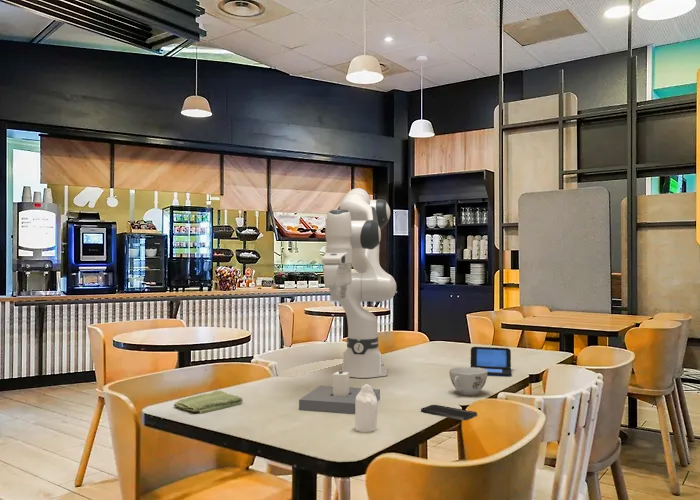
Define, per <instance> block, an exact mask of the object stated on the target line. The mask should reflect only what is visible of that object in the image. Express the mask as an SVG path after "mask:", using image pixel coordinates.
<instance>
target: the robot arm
mask: <svg viewBox="0 0 700 500" xmlns="http://www.w3.org/2000/svg"><path fill="white" fill-rule="evenodd" d="M390 217H391V208H390V206H389V203H388V201H386V200H385V199H380V198H377V199H371V198H370V195H369V193H368V192H367V191H366V189H363V188H360V187H356V188H352V189H350V190H349V191H348V192H347V193H346V194H345V196H344V197H343V198H342V200H341V202H340V205H339V206H338V207H337V209H331V210H330V211H328V212H327V213H326V220H325V221H326V222H325V229H324V237H325V238H324V240H325V242H326V245H325V253H324V255H323V256H322V258H321V263H322V265H323V281H324V282H323V284H324V286H325V288H328V290H329V294H330V297H331V298H330V299H331V302H338V303H339V304H340V306H341V307H342V308H343V309H342V310H344V312H345V315H346V320H347V337H346V347H347V348H346V350H344V352H342V368H341V369H339V370H338V372H340V371H343V372H349V378H357V379H358V378H363V379H369V378H370V379H371V378H377V377H386V376H388V367H387V366H385V365H384V362H383V359H382V358H383V356H382V352H381V351H380V349H379V337H378V319H377V316H376V315H375V314H374V313H373V312H371V311H369V310H367V309H365V308H363V306H362V304H361V302H362V303H363V302H379V303H380V302H384V301H385V302H386V301H389V300H392V299H393V298H394V296H395V295H396V293H397V282H396V280H395V278H394V277H393V275H391V274H389V273H388V272H386V271H385V270H384V269H383V268H382V267H381V265H380V242H381V240H382V239H381V238H382V232H381V231H382V230H384V227H385V226H386V225H387V224H388V222H389V221H390ZM352 268H353V269H354V270H355V271H356V272H352Z"/></svg>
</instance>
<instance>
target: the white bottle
mask: <svg viewBox="0 0 700 500" xmlns="http://www.w3.org/2000/svg"><path fill="white" fill-rule="evenodd" d="M360 388H361V390H360V392H359V393H358V395H357V396H356V399H355V400H356V401H355V414H354V417H355V418H354V420H355V421H354V422H355V423H354V424H355V425H354V427H355V431H357V432H360V433H371V432H372V433H373V432H375V431H377V428H378V426H377V423H378V401H377V398H376V395H375V393H374V391H373V389H374V388H373V387H372V386H371V385H369V384H368V383H366V384H363V385H362V386H361V387H360Z"/></svg>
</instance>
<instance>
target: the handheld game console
mask: <svg viewBox="0 0 700 500" xmlns="http://www.w3.org/2000/svg"><path fill="white" fill-rule="evenodd" d="M511 351H512V350H511V349H510V348H508V347H488V346H472V347H471V348H470V366H469V367H474V368H484V369H486V370H487V371H488V372H487V377H505V378H508V377H509V378H510V377H512V352H511Z"/></svg>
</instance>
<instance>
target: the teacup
mask: <svg viewBox="0 0 700 500" xmlns="http://www.w3.org/2000/svg"><path fill="white" fill-rule="evenodd" d="M448 372H449V378H450V381H451V383H452V385H453V387H454V389H456V390H457V392H458V393H459V394H460V395H463V396H477V395H479V393H480V391H482V389H483V388H484V387H485V385H486V383H487V378H488V376H487V372H488V371H487V370H486V369H484V368H474V367H470V366H469V367H467V366H466V367H463V366H461V367H459V366H457V367H452V368H450V369H449V370H448Z"/></svg>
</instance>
